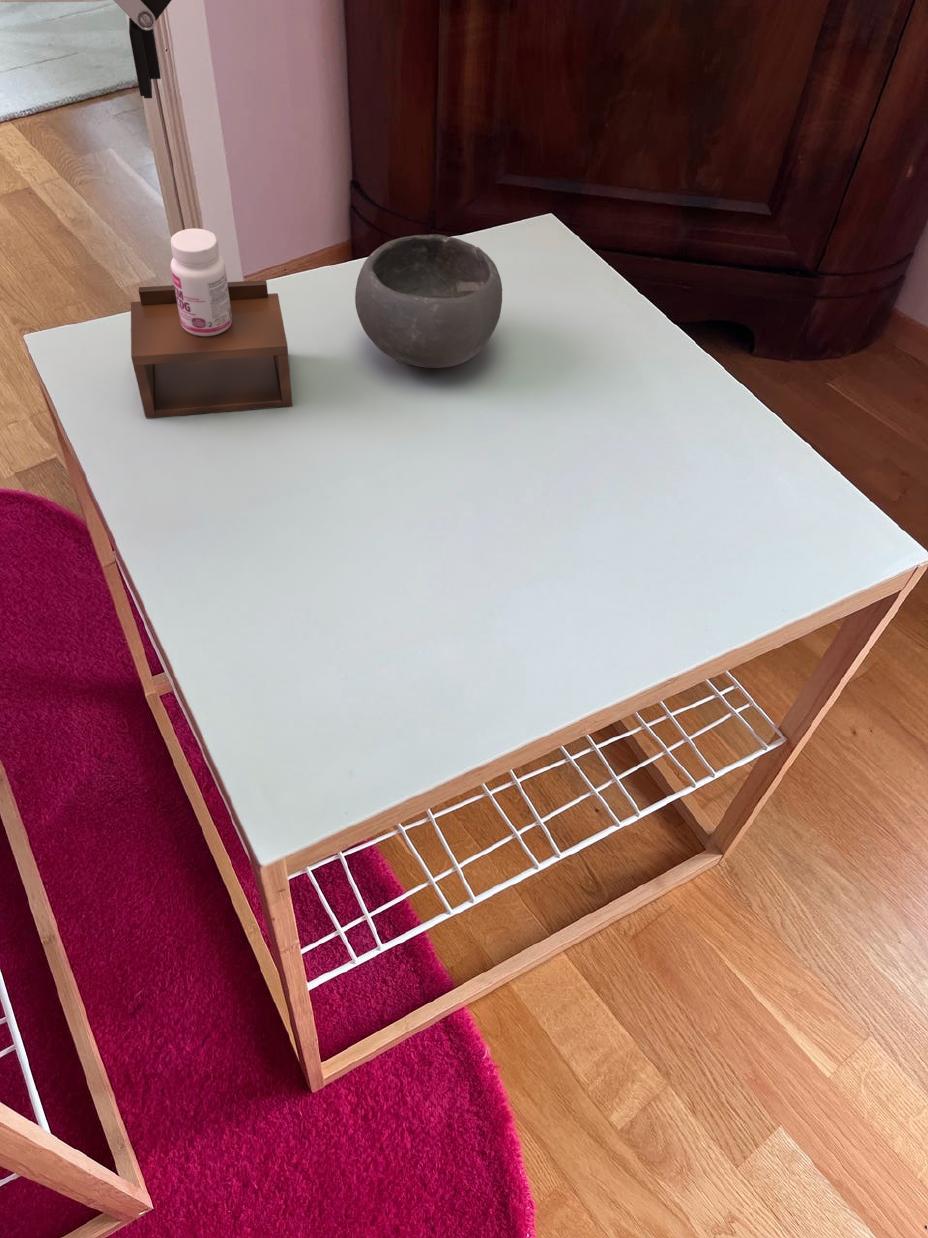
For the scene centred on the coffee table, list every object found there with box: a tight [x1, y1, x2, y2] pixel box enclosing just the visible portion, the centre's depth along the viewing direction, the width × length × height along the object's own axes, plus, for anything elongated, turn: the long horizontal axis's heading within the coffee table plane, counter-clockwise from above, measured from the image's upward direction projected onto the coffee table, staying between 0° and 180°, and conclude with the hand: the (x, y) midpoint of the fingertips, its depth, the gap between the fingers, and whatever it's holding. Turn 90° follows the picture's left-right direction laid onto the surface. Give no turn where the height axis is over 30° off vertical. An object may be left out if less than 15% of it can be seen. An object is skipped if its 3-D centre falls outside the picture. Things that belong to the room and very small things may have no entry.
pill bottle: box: [170, 227, 232, 336], centre depth 86 cm, size 5×5×8 cm
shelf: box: [130, 279, 293, 419], centre depth 92 cm, size 14×9×8 cm, turn 103°
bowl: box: [354, 234, 503, 369], centre depth 97 cm, size 15×15×10 cm
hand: (70, 91), depth 62 cm, fingers open, 9 cm apart
